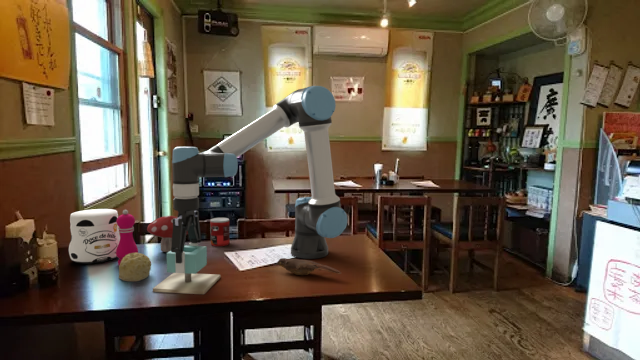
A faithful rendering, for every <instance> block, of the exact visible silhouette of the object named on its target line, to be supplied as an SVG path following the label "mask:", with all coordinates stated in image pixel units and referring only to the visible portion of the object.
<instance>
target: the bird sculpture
mask: <svg viewBox="0 0 640 360" xmlns="http://www.w3.org/2000/svg"><path fill="white" fill-rule="evenodd" d="M272 266H273V267H274V266H280V267H282V268H284V269H285V271H288V272H290V273H291V274H295V275H296V276H306V275H309V274H310V273H312V272H314V271H315V270H319V271H327V272H329V273H334V274H338V275H341V274H342V272H341V270H338V269H336V268H334V267H331V266H329V265H324V264H323V263H319V262H316V261H313V260H310V259H300V258H287V257H286V258H285V257H281V258H279V259H278V260H277V262H276V263H274V264H273V265H272Z"/></svg>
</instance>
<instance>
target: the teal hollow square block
mask: <svg viewBox="0 0 640 360" xmlns="http://www.w3.org/2000/svg"><path fill="white" fill-rule="evenodd" d="M207 250H208V249H207V246H205V245H204V246H202V245H198V246H189V245H187V244H186V245H184V250H183V252H185V273H188V274H198V272H199V271H201V270H202V269H203V268H205V267H206V266H207V264H208V263H207V262H208V261H207V258H208V257H207V256H208V255H207V253H208V252H207ZM166 273H172V274H173V273H176V266H175V252H171V251H169V252H166Z"/></svg>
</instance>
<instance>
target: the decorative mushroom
mask: <svg viewBox="0 0 640 360" xmlns="http://www.w3.org/2000/svg"><path fill="white" fill-rule="evenodd" d="M173 218H175V219H177V218H178V216H175V215H164V216H161V217H158V218H155V219H154V220H153V221H152V222H150V223H149V224H147V228H146V230H147V232H148V233H150V234H151V235H152V236H155V237H159V238H161V241H160V251H161V252H164V253H168V252H169V251H171V245H172V233H173ZM187 235H188V231H187V234H186V236H187Z"/></svg>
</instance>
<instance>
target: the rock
mask: <svg viewBox="0 0 640 360" xmlns="http://www.w3.org/2000/svg"><path fill="white" fill-rule="evenodd" d="M151 261H152V260H151V259H150V258H149V256H147V255H145V254H144V253H140V252H138V253H130V254H128V255H126V256H125V257H123V259H122V261H121V263H120V265H118V279H120V280H121V281H123V282H139V281H143V280H145V279H147V278H148V277H150V272H151V269H152V263H151Z"/></svg>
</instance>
